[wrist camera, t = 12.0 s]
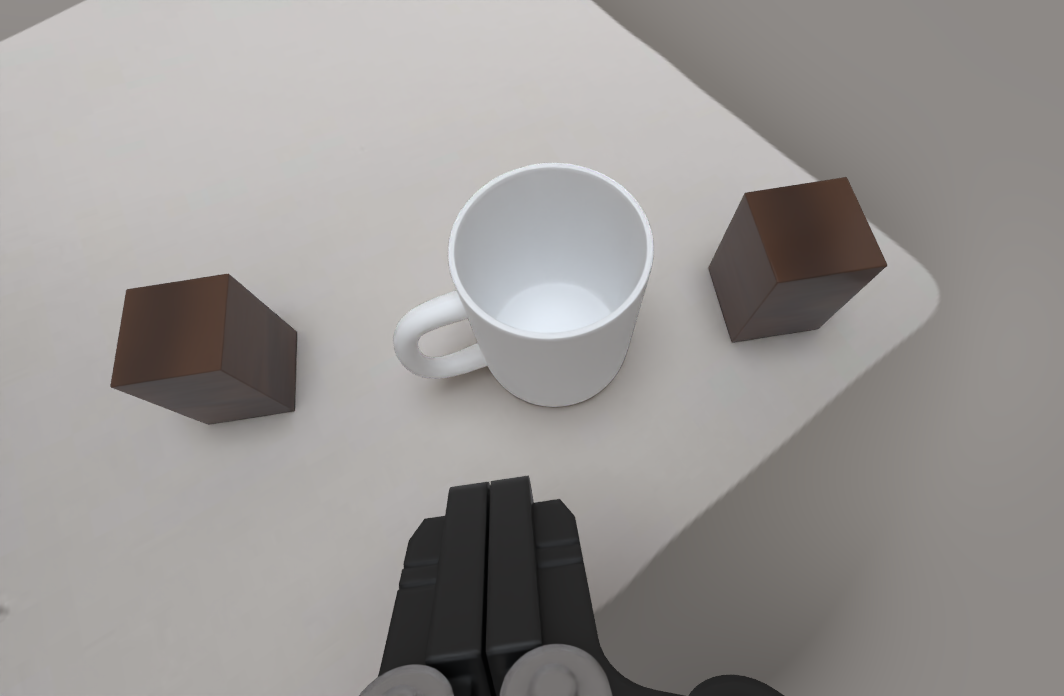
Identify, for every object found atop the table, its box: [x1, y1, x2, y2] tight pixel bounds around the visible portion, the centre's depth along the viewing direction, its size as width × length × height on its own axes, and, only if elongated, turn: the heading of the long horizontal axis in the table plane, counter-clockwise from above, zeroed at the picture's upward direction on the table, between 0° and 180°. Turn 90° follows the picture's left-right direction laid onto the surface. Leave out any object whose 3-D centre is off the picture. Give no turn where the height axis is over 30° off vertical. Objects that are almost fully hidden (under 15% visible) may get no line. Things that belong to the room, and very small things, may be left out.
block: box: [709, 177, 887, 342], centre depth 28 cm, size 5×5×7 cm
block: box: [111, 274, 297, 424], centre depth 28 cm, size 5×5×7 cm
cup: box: [393, 163, 654, 407], centre depth 26 cm, size 8×12×10 cm
